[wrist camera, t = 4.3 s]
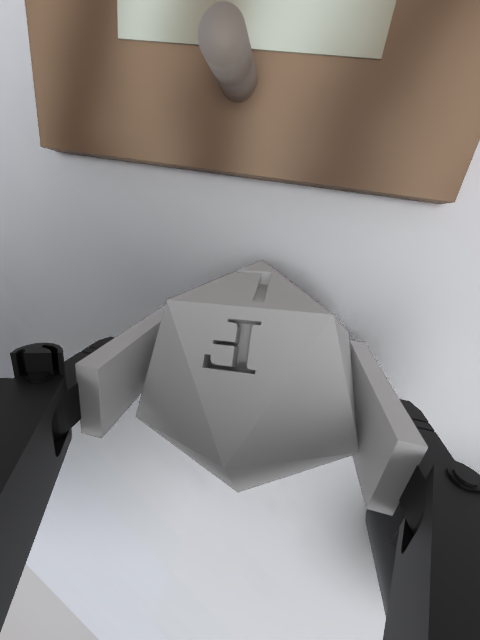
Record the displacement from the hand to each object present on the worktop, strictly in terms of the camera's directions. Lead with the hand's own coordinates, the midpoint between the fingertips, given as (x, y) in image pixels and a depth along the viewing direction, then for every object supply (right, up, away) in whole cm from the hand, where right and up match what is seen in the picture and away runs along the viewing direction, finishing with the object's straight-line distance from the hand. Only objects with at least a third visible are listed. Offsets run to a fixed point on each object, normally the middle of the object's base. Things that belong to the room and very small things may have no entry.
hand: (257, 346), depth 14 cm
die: (0, +1, +2) cm, 3 cm away
